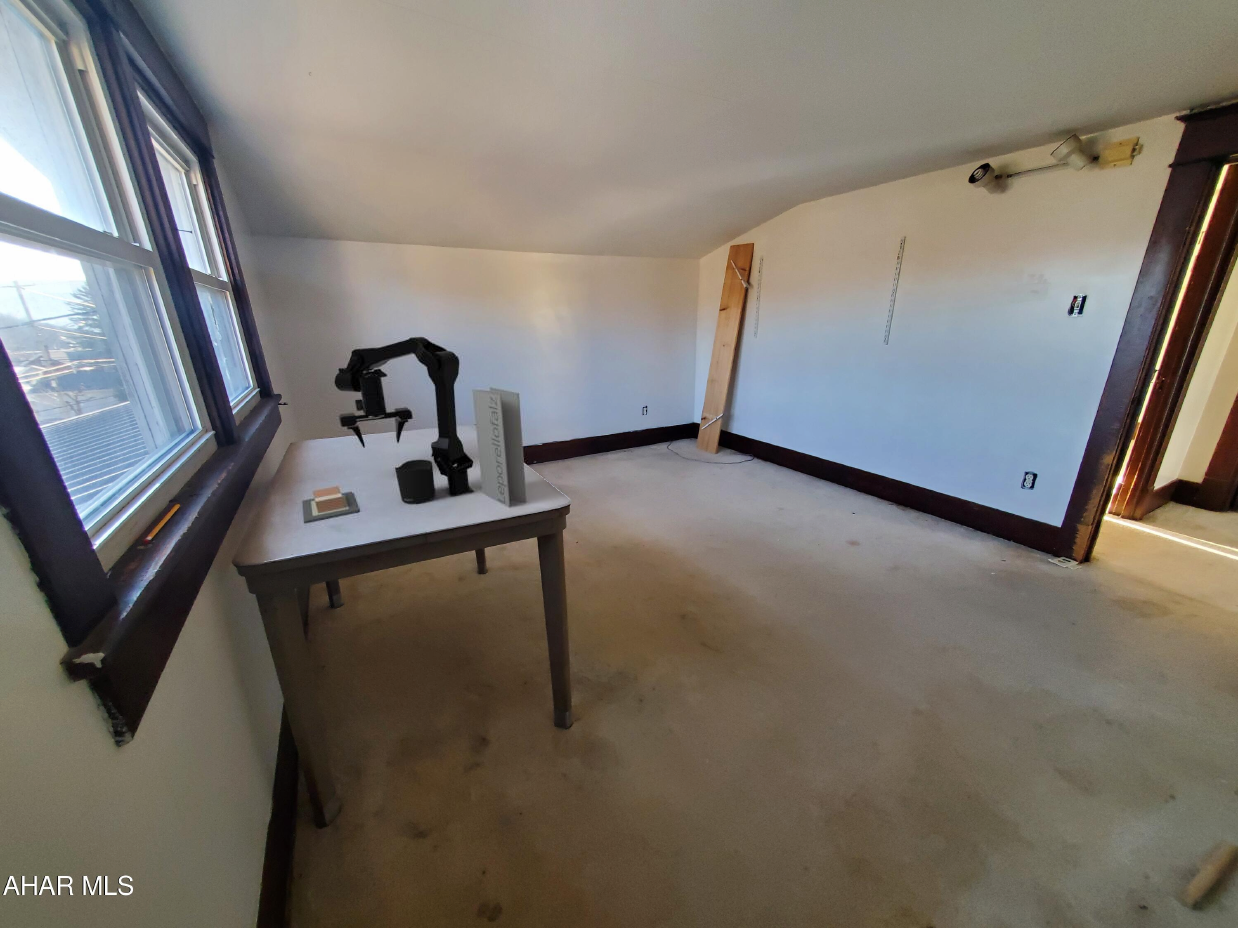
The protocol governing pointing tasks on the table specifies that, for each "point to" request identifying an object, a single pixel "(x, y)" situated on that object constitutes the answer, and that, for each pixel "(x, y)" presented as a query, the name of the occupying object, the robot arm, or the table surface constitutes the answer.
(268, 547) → the table surface
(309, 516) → the mat
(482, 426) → the brochure
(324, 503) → the block
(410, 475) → the pen holder
